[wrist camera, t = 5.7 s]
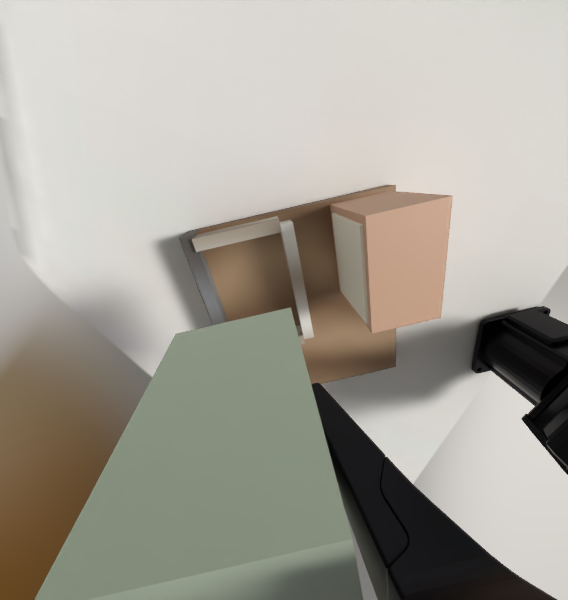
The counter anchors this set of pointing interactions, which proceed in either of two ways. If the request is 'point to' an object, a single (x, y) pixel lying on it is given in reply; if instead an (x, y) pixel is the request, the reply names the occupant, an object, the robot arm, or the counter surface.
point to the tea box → (217, 483)
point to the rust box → (392, 256)
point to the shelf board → (289, 284)
